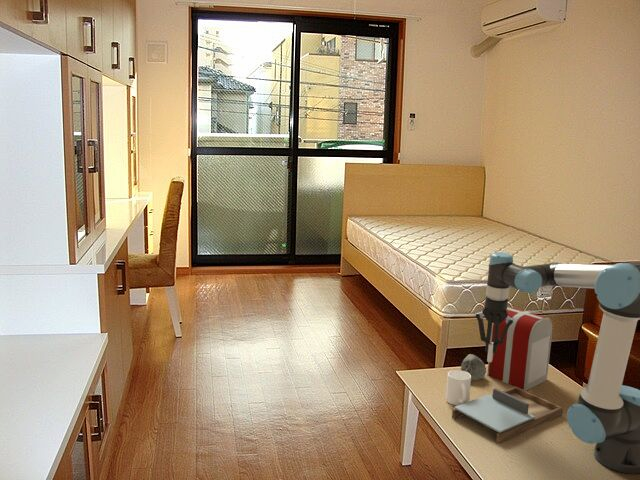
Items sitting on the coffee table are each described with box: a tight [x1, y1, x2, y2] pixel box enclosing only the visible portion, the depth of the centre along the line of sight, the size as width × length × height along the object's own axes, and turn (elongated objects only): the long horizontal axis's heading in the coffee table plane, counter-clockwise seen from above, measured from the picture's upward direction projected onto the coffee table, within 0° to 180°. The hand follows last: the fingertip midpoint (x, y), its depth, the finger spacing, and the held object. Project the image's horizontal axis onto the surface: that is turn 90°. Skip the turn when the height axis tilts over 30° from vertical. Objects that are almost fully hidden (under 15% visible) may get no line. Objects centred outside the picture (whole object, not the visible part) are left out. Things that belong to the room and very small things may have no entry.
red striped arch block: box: [486, 306, 553, 391], centre depth 247 cm, size 16×18×27 cm
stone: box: [460, 353, 487, 381], centre depth 249 cm, size 10×10×10 cm
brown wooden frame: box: [451, 386, 564, 444], centre depth 218 cm, size 20×34×3 cm, turn 126°
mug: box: [445, 369, 472, 407], centre depth 226 cm, size 12×8×10 cm
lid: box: [453, 387, 535, 433], centre depth 213 cm, size 19×18×4 cm
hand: (489, 360), depth 222 cm, fingers closed
